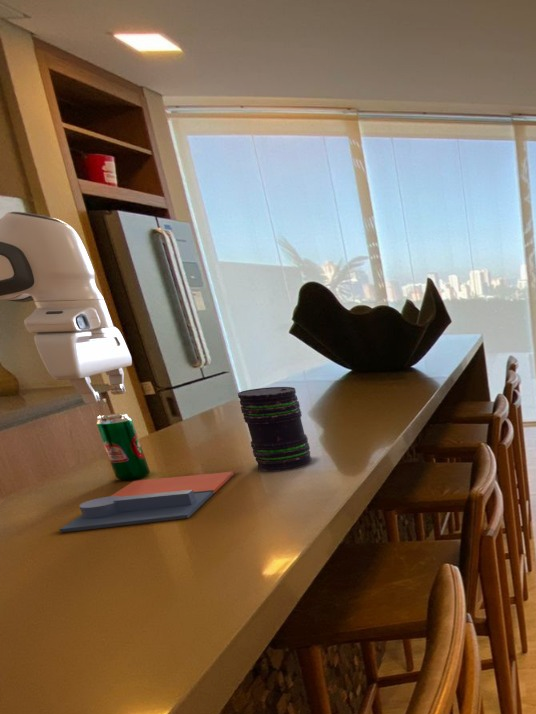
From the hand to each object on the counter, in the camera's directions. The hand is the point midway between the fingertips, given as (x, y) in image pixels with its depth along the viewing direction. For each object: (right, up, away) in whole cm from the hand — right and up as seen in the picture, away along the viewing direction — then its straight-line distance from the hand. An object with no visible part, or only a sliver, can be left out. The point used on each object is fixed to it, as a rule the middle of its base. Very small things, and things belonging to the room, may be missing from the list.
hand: (106, 398), depth 103 cm
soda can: (0, -14, +6) cm, 15 cm away
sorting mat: (+15, -19, -6) cm, 25 cm away
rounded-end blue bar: (+17, -20, -12) cm, 29 cm away
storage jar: (+25, -11, +13) cm, 30 cm away
